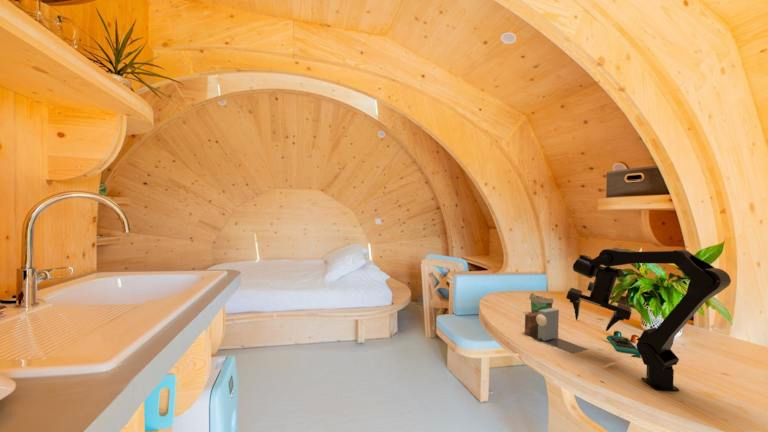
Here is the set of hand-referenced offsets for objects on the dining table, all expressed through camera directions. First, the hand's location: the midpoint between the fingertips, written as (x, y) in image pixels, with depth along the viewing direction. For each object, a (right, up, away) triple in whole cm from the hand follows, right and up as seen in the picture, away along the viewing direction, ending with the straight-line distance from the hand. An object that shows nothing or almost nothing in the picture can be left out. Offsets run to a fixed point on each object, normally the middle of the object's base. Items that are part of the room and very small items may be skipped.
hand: (591, 324), depth 119 cm
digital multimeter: (+17, -12, +9) cm, 23 cm away
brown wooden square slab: (-11, -11, +21) cm, 26 cm away
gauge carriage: (-9, -10, +15) cm, 20 cm away
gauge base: (-7, -11, +13) cm, 19 cm away
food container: (+3, -11, +47) cm, 48 cm away
